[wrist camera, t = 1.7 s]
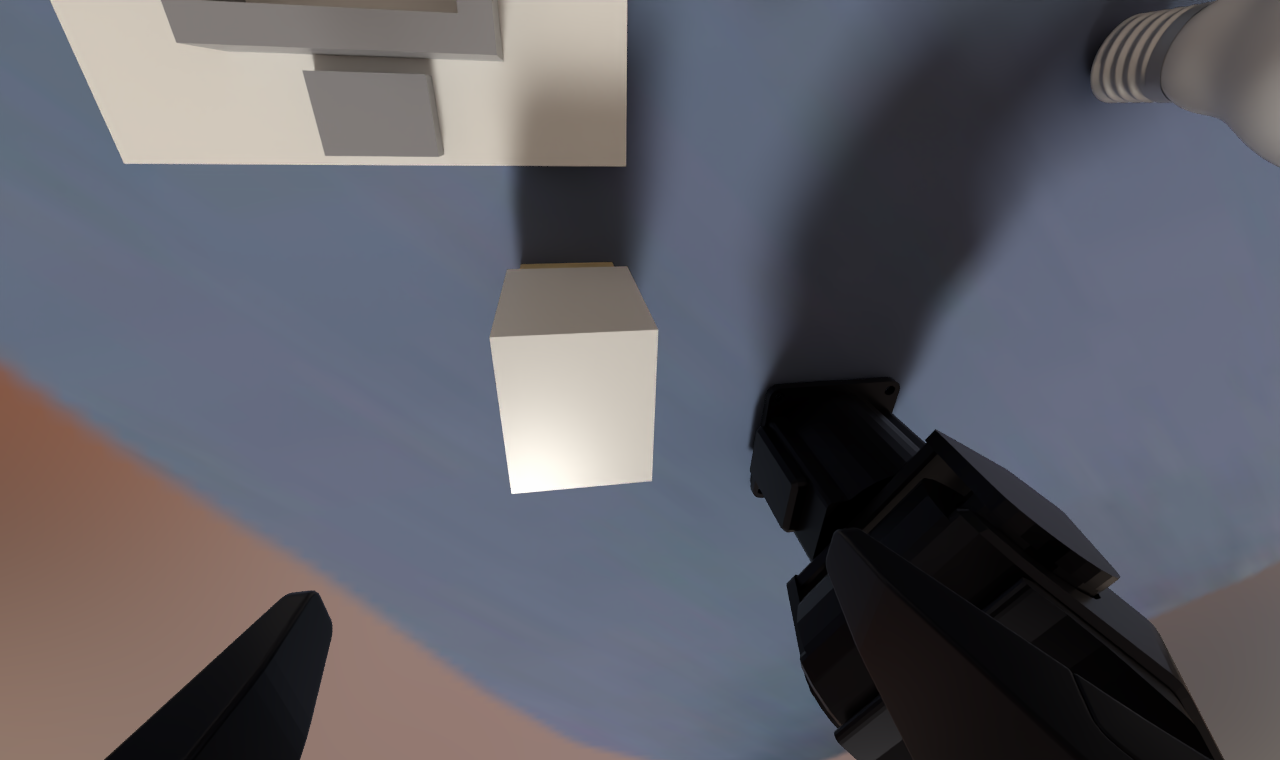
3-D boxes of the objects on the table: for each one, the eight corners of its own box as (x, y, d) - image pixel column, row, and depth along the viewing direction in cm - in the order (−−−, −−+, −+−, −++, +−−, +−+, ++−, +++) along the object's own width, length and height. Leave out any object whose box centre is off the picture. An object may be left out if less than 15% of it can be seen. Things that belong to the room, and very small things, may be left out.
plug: (620, 251, 18) (658, 329, 12) (619, 364, 21) (651, 480, 14) (511, 253, 18) (489, 337, 11) (523, 369, 20) (511, 493, 14)
